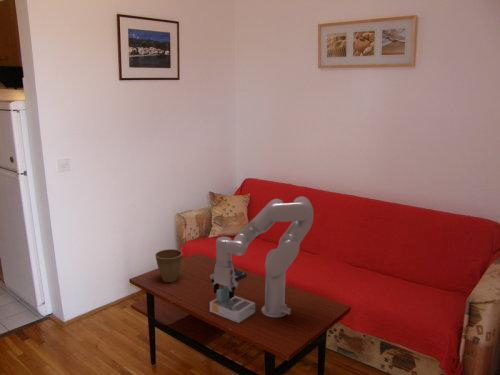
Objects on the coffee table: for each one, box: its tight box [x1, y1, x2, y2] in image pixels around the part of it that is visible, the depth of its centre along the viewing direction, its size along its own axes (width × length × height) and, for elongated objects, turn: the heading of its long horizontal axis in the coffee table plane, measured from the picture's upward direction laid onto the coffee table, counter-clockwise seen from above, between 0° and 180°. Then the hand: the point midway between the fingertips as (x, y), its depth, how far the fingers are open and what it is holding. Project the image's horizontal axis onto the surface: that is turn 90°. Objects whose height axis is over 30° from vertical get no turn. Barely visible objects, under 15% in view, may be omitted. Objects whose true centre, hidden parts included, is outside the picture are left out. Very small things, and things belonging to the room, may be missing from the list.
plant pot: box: [154, 248, 183, 283], centre depth 245 cm, size 15×15×16 cm
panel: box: [216, 286, 230, 304], centre depth 213 cm, size 2×8×10 cm, turn 143°
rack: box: [209, 295, 256, 324], centre depth 210 cm, size 18×13×5 cm
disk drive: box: [234, 268, 247, 282], centre depth 250 cm, size 10×3×15 cm
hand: (223, 295), depth 213 cm, fingers open, 9 cm apart
